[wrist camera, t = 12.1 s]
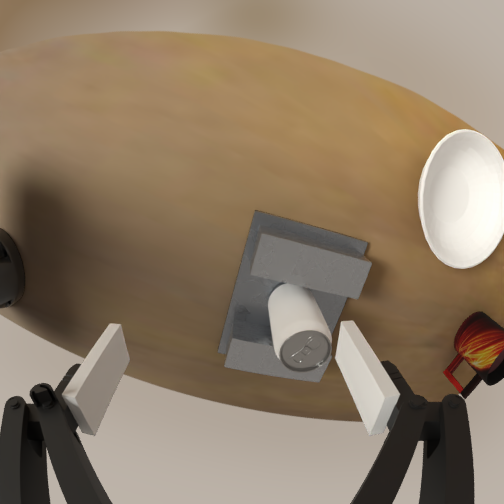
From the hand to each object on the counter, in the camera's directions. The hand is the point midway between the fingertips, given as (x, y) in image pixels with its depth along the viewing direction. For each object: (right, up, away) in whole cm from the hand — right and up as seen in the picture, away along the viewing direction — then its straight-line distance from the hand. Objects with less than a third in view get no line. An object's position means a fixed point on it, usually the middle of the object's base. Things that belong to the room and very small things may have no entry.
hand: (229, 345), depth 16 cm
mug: (+45, -13, +29) cm, 56 cm away
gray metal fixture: (+7, -1, +25) cm, 26 cm away
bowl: (+32, +14, +21) cm, 40 cm away
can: (+7, -2, +24) cm, 25 cm away
